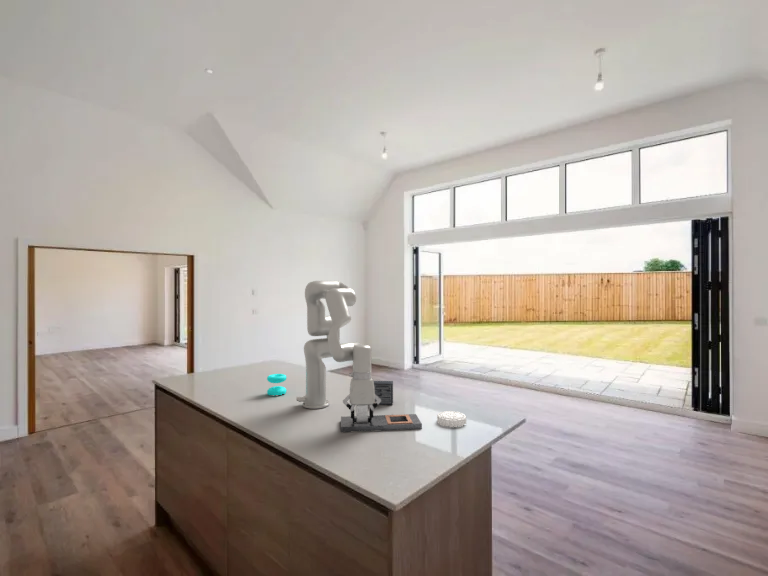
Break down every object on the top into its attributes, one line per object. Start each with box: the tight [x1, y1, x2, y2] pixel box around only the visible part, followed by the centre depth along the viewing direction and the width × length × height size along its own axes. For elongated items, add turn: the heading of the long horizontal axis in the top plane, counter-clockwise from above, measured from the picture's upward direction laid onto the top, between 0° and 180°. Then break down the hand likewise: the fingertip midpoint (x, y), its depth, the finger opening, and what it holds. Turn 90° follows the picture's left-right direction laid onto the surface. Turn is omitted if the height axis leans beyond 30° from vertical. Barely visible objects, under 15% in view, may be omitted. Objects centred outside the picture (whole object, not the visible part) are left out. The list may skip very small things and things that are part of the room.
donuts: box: [266, 373, 287, 397], centre depth 201 cm, size 10×10×10 cm
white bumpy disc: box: [436, 410, 467, 428], centre depth 158 cm, size 12×12×4 cm
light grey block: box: [355, 405, 369, 424], centre depth 154 cm, size 4×4×9 cm
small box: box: [373, 380, 394, 406], centre depth 185 cm, size 11×6×10 cm, turn 84°
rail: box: [340, 413, 423, 433], centre depth 155 cm, size 32×12×2 cm, turn 96°
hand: (362, 419), depth 154 cm, fingers open, 6 cm apart
